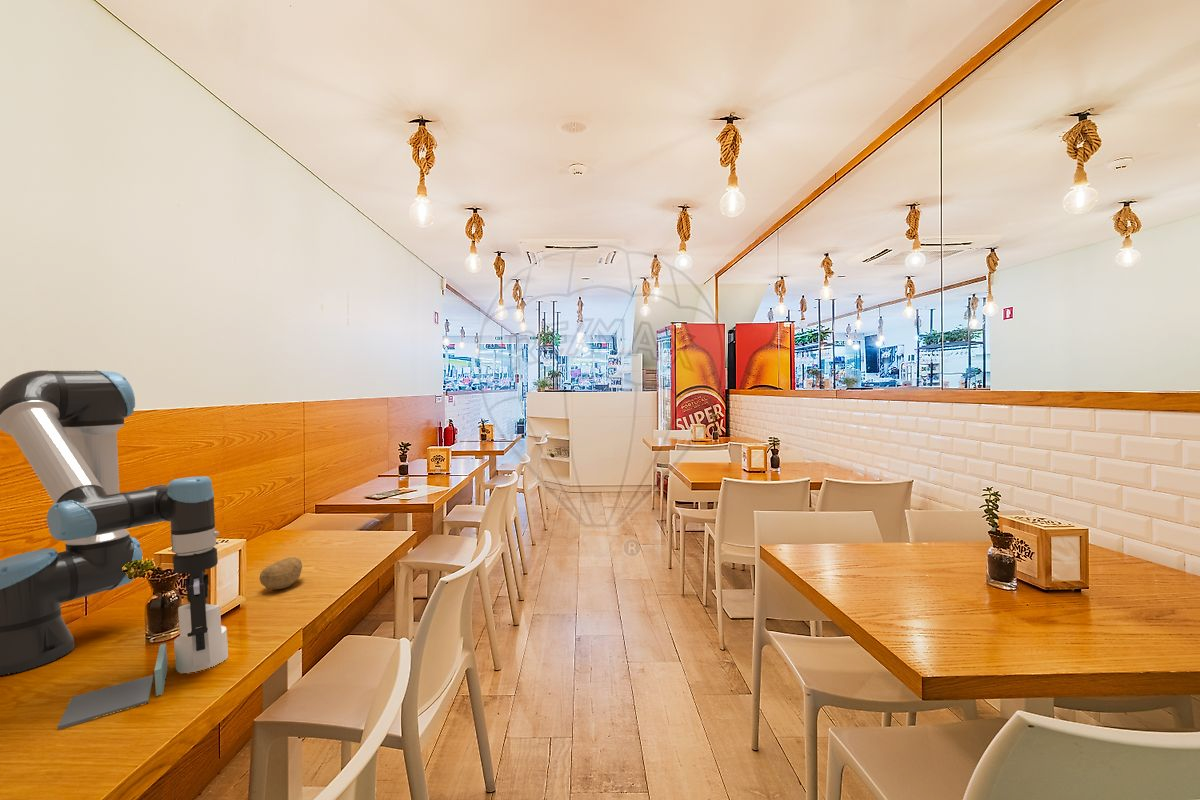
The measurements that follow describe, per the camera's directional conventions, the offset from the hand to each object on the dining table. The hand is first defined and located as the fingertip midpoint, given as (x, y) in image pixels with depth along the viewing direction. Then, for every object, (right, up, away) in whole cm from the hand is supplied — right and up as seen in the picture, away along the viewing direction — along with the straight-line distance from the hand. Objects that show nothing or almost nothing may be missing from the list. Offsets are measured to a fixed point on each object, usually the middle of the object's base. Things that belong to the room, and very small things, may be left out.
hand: (202, 655), depth 116 cm
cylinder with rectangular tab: (0, -2, 0) cm, 2 cm away
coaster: (-7, -2, -14) cm, 16 cm away
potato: (-9, -1, +46) cm, 47 cm away
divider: (-3, -2, -7) cm, 8 cm away
